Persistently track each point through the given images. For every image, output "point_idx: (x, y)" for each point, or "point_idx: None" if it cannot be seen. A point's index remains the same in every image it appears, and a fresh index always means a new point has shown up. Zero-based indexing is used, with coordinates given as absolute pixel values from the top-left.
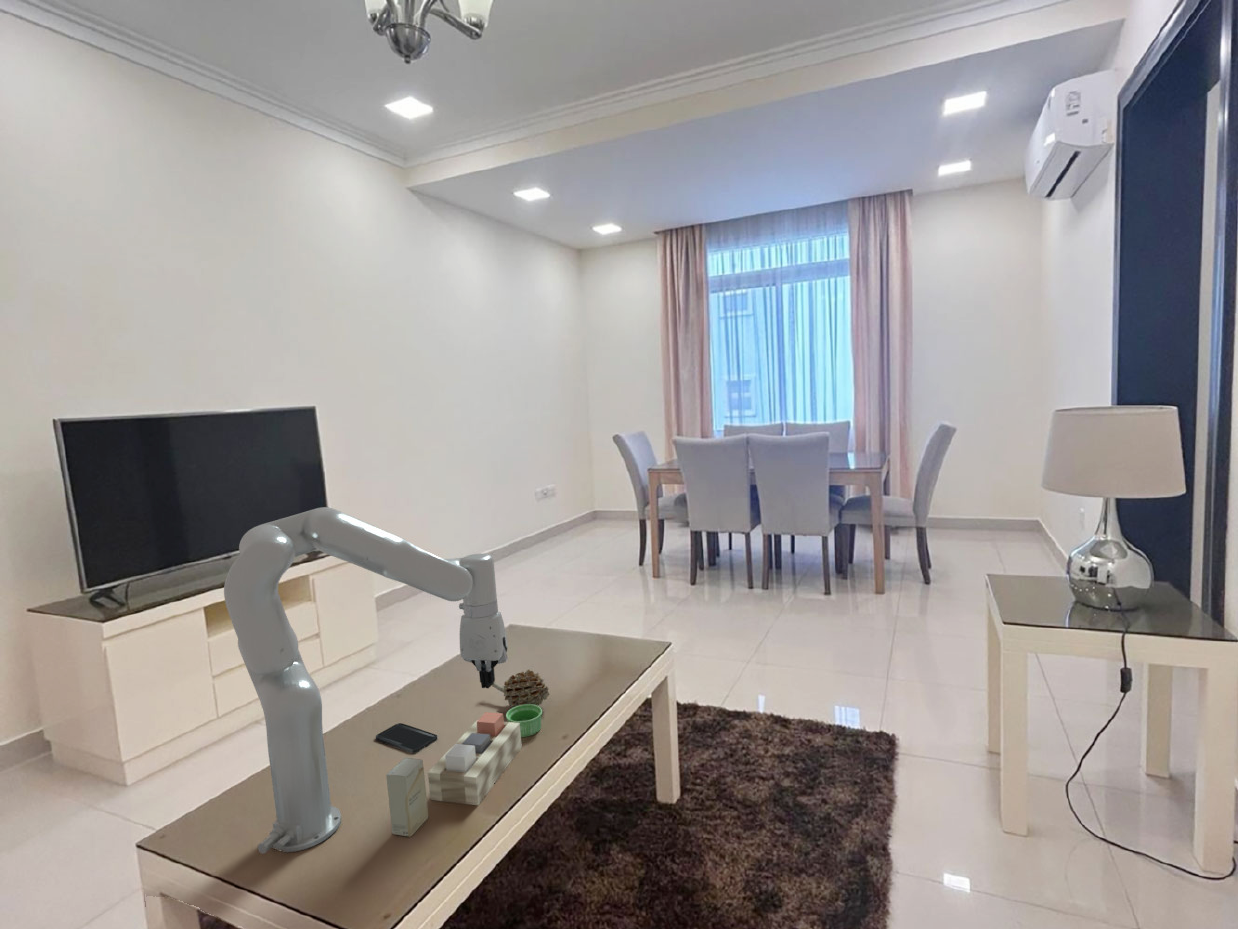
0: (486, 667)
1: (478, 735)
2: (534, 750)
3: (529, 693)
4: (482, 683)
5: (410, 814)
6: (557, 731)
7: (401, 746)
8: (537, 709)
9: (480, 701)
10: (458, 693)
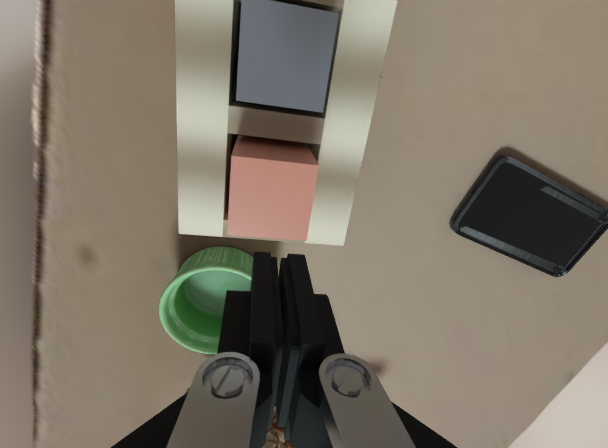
0: (248, 396)
1: (285, 88)
2: (147, 184)
3: None
4: (298, 271)
5: None
6: (123, 278)
7: (541, 175)
8: (189, 338)
9: (381, 376)
10: (441, 397)
